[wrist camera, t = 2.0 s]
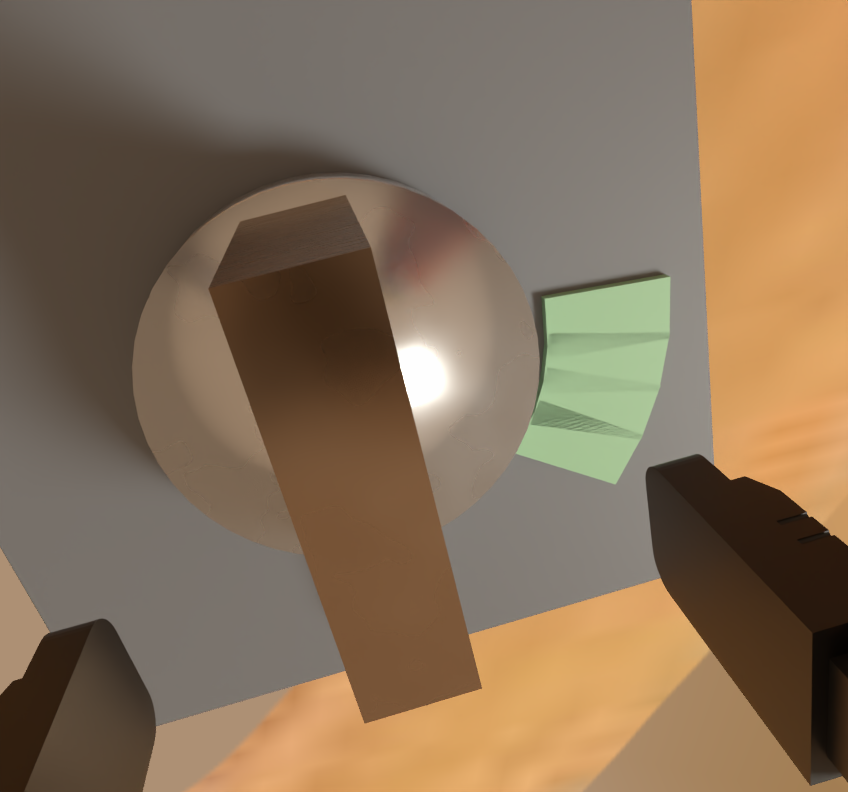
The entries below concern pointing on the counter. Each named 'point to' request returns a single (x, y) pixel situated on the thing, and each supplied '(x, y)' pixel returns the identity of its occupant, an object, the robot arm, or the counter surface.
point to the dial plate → (360, 154)
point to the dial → (344, 404)
